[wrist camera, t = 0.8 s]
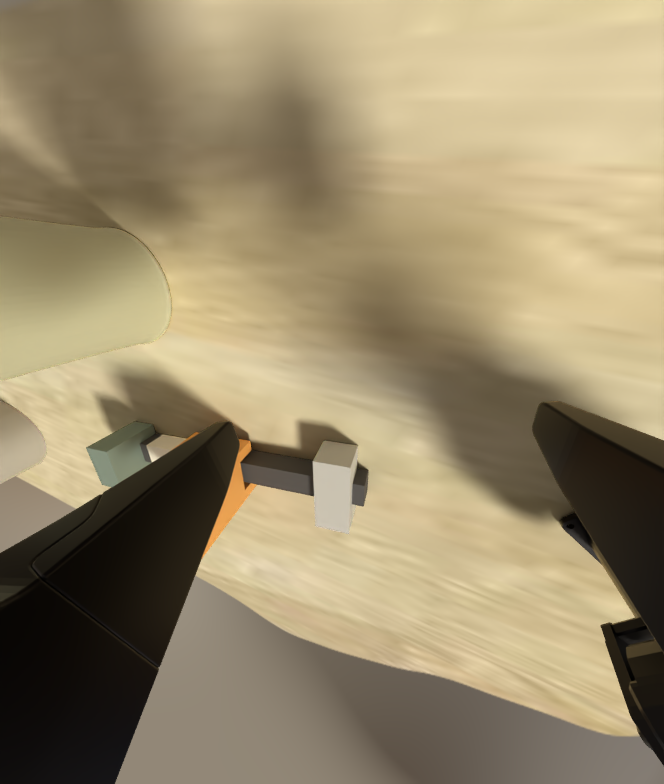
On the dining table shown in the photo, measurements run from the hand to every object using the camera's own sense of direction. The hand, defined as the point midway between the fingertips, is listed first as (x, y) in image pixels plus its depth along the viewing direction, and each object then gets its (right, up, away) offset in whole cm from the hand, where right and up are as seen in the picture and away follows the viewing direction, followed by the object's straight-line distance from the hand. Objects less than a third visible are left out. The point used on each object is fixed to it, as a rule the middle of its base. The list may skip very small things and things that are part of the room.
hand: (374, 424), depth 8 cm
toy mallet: (-11, -6, +19) cm, 23 cm away
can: (-19, +10, +15) cm, 26 cm away
